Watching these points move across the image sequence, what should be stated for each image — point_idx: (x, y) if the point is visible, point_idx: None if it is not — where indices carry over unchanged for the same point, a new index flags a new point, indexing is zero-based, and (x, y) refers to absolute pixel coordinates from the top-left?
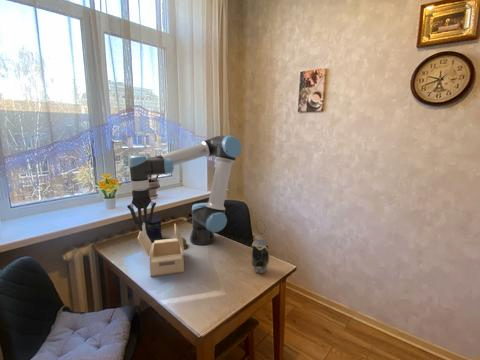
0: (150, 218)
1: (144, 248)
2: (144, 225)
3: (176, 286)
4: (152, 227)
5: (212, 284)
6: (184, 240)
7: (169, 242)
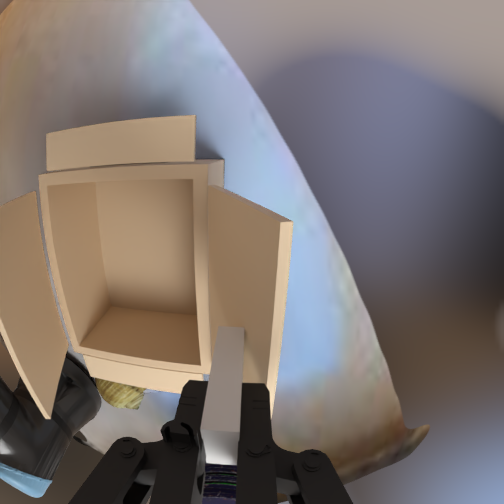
0: (106, 481)
1: (230, 195)
2: (207, 424)
3: (123, 64)
4: (224, 476)
5: (28, 72)
6: (96, 381)
7: (124, 353)
